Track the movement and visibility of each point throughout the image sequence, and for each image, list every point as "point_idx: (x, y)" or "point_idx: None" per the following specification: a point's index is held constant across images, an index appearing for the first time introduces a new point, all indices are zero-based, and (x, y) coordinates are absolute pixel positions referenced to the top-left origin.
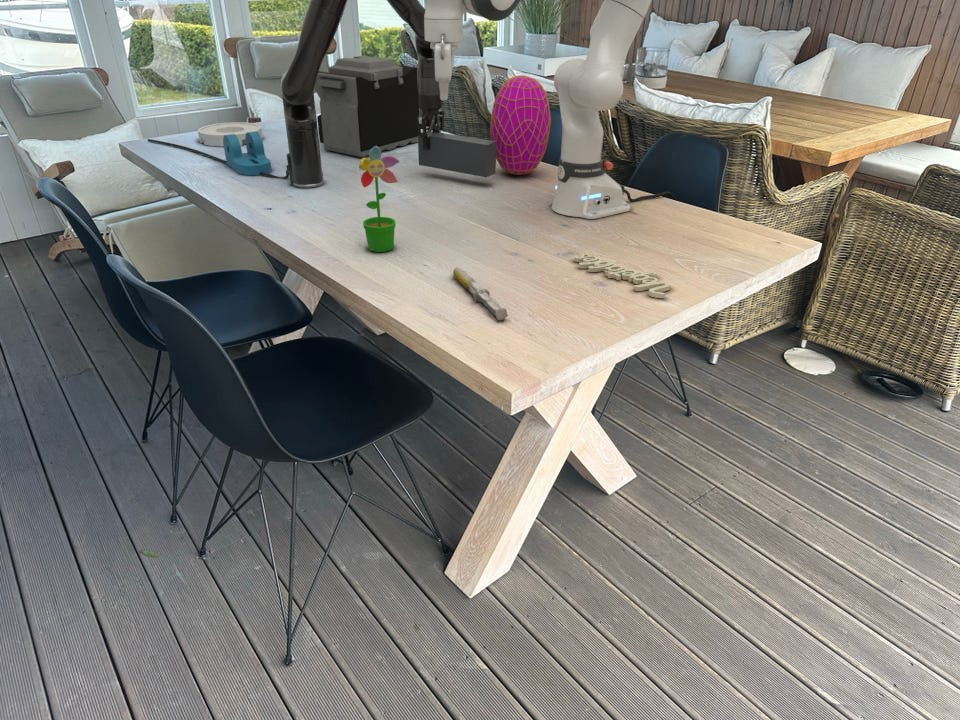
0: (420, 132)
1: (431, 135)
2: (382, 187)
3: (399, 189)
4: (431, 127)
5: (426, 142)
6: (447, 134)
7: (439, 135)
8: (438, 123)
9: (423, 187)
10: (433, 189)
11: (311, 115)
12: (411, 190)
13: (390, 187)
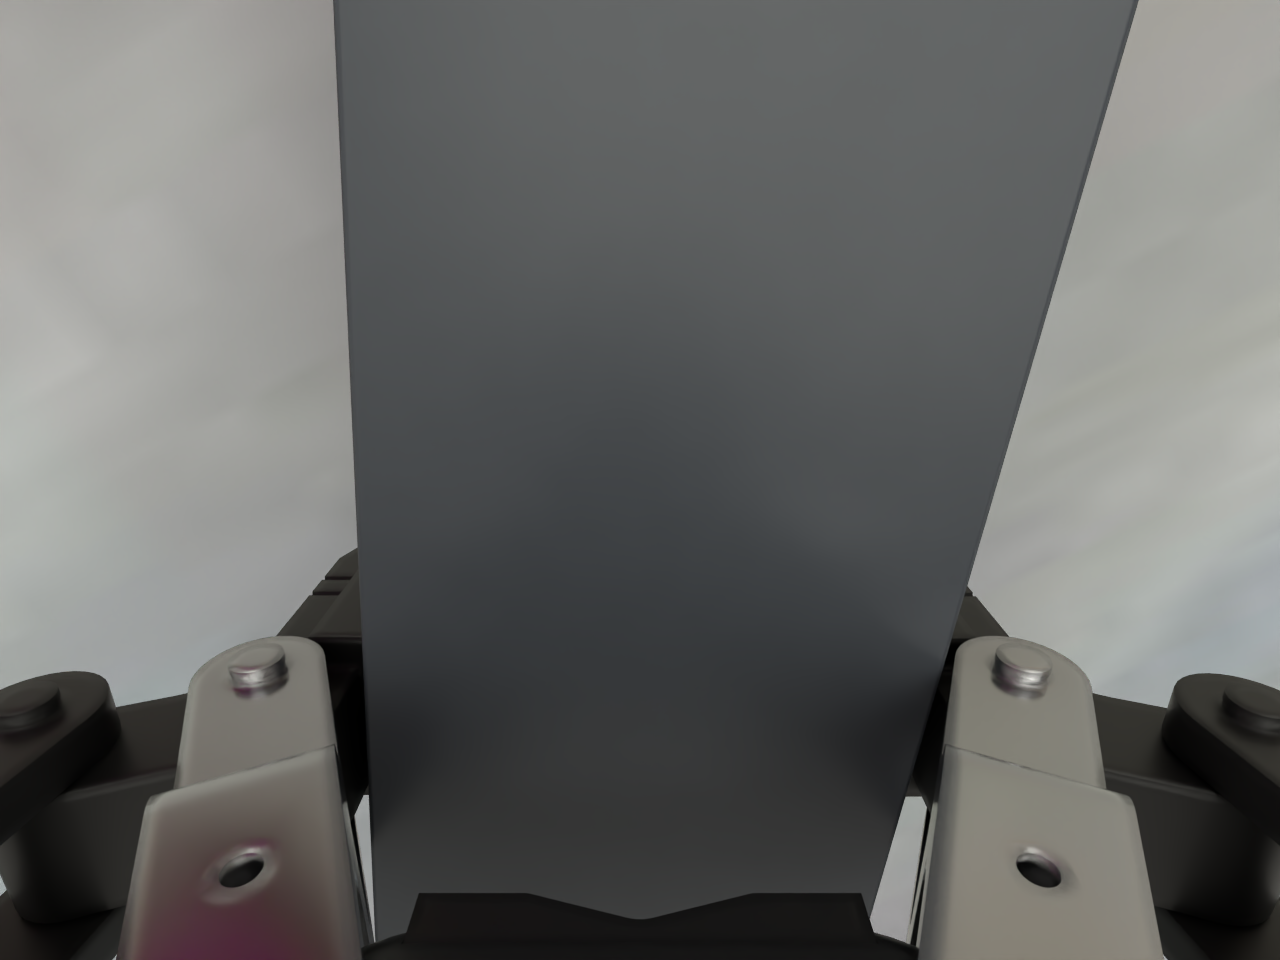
0: (1228, 930)
1: (878, 651)
2: (1220, 642)
3: (1258, 471)
4: (1082, 840)
5: (990, 616)
6: (455, 260)
7: (754, 443)
8: (325, 892)
9: (1123, 270)
10: (1180, 107)
11: None
12: (1274, 337)
13: (1204, 580)
